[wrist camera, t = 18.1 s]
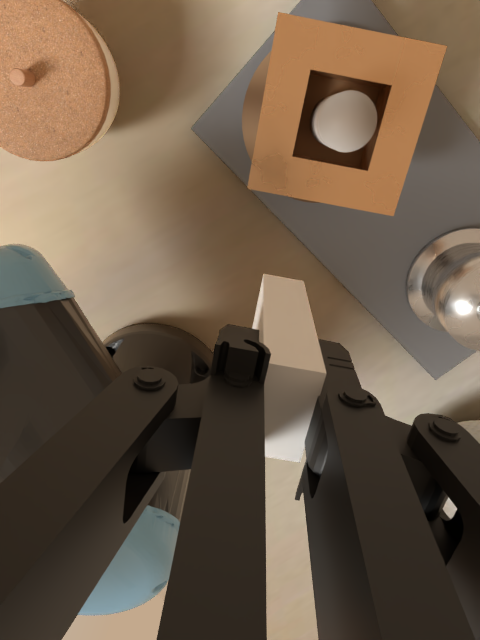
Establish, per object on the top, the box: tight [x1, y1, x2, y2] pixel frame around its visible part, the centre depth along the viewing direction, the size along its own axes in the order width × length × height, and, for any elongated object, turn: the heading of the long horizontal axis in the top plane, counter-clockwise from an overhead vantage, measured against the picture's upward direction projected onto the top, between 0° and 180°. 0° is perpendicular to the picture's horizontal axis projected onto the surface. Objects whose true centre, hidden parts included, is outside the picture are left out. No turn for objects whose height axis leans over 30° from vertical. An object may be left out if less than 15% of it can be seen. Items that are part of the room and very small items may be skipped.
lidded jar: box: [0, 0, 120, 161], centre depth 34 cm, size 11×11×9 cm
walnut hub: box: [242, 50, 380, 203], centre depth 31 cm, size 13×13×13 cm
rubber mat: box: [191, 0, 480, 380], centre depth 40 cm, size 34×16×1 cm, turn 45°
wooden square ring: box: [247, 12, 447, 216], centre depth 30 cm, size 10×10×3 cm
